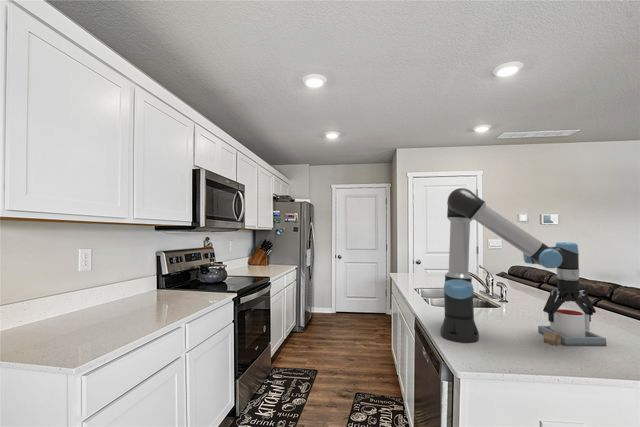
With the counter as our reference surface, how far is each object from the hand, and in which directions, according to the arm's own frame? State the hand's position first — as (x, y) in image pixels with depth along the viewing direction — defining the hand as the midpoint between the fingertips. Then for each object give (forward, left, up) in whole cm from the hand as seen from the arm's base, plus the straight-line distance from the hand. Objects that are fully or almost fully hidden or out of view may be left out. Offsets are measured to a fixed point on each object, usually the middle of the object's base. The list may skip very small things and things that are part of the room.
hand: (569, 329), depth 134 cm
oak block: (-11, -5, -4) cm, 13 cm away
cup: (0, 0, -3) cm, 3 cm away
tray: (0, 0, -4) cm, 4 cm away
